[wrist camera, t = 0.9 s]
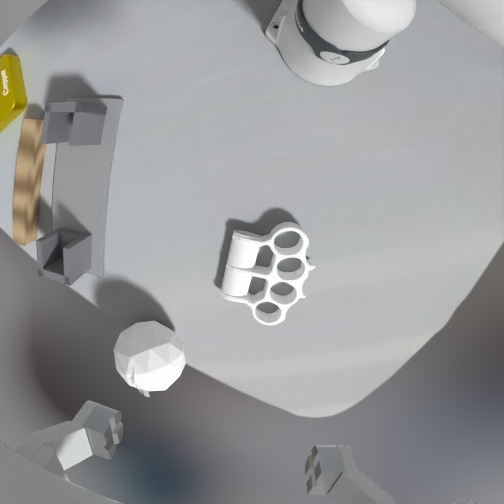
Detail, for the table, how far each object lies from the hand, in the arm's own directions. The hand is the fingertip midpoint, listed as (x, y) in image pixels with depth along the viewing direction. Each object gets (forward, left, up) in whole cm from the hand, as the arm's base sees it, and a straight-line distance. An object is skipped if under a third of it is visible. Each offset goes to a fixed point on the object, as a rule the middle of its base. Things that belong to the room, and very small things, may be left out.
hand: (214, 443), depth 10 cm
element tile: (-17, -57, -41) cm, 72 cm away
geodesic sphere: (+27, -12, -40) cm, 50 cm away
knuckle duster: (+8, +6, -41) cm, 42 cm away
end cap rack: (0, -30, -40) cm, 50 cm away
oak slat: (0, -42, -40) cm, 58 cm away
